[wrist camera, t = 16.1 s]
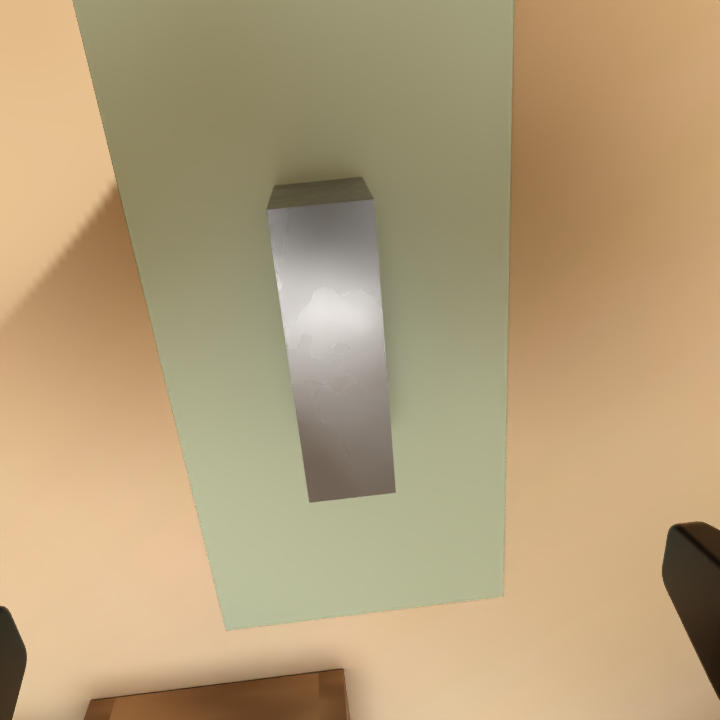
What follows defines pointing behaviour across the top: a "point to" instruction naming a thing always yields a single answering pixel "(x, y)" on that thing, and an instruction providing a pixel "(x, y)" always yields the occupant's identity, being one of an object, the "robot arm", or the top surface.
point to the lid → (324, 284)
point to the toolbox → (237, 701)
